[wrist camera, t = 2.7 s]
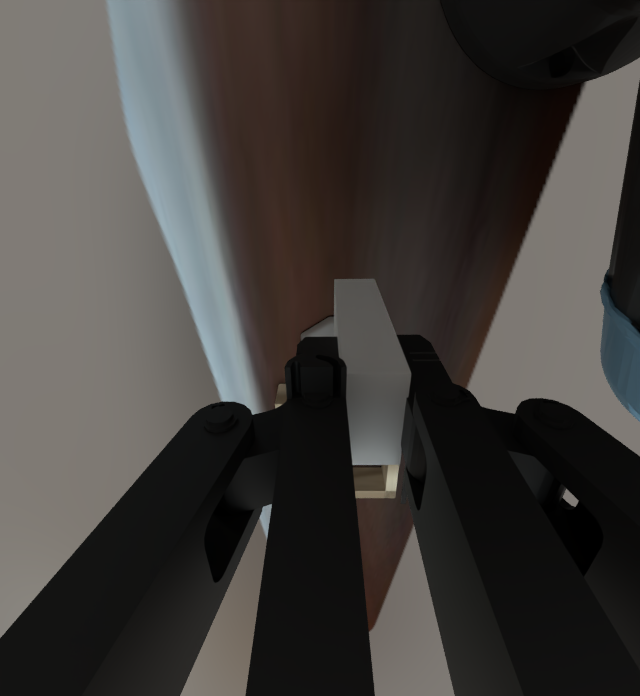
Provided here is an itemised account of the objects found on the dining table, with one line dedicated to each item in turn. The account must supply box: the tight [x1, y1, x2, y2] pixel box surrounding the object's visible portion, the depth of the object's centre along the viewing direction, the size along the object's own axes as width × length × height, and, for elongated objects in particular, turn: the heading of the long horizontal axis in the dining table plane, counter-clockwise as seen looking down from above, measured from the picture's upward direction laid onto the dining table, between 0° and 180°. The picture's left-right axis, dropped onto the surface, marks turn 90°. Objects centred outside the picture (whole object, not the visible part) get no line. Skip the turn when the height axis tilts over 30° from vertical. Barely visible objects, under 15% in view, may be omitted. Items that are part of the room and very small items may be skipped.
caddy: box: [275, 384, 399, 498], centre depth 35 cm, size 12×11×3 cm
